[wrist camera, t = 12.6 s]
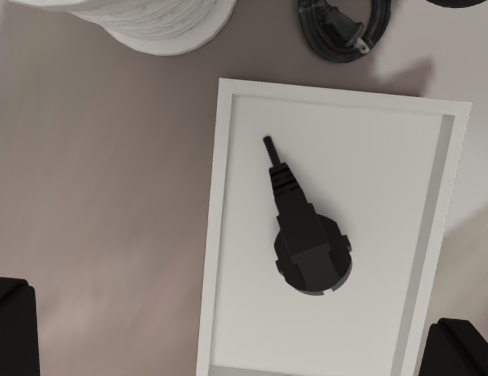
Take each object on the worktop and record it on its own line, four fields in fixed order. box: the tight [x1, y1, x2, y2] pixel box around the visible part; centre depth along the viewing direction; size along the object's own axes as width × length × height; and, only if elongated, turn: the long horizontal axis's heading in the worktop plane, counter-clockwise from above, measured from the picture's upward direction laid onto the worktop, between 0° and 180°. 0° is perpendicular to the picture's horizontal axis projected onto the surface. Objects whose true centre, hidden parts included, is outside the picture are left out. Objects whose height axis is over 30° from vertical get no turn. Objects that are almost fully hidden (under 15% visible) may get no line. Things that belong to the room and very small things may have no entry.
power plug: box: [263, 136, 353, 296], centre depth 33 cm, size 6×8×12 cm
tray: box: [196, 78, 472, 376], centre depth 34 cm, size 26×18×2 cm
